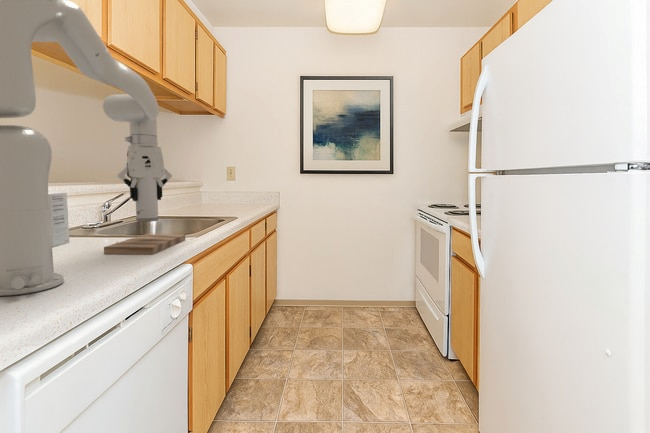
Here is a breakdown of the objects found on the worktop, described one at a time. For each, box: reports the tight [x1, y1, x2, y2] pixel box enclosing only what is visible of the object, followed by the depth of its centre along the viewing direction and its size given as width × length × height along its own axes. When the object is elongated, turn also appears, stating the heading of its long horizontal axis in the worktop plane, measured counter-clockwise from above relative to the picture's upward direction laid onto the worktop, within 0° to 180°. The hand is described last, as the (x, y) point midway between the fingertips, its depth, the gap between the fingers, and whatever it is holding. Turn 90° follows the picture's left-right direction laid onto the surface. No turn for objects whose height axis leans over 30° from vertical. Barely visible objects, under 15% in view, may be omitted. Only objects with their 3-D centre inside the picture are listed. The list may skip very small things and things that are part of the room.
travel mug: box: [135, 156, 159, 223], centre depth 116 cm, size 6×7×20 cm
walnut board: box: [103, 233, 186, 256], centre depth 118 cm, size 24×14×2 cm, turn 179°
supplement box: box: [48, 191, 70, 248], centre depth 119 cm, size 10×9×17 cm
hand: (146, 199), depth 116 cm, fingers closed on travel mug, 6 cm apart
